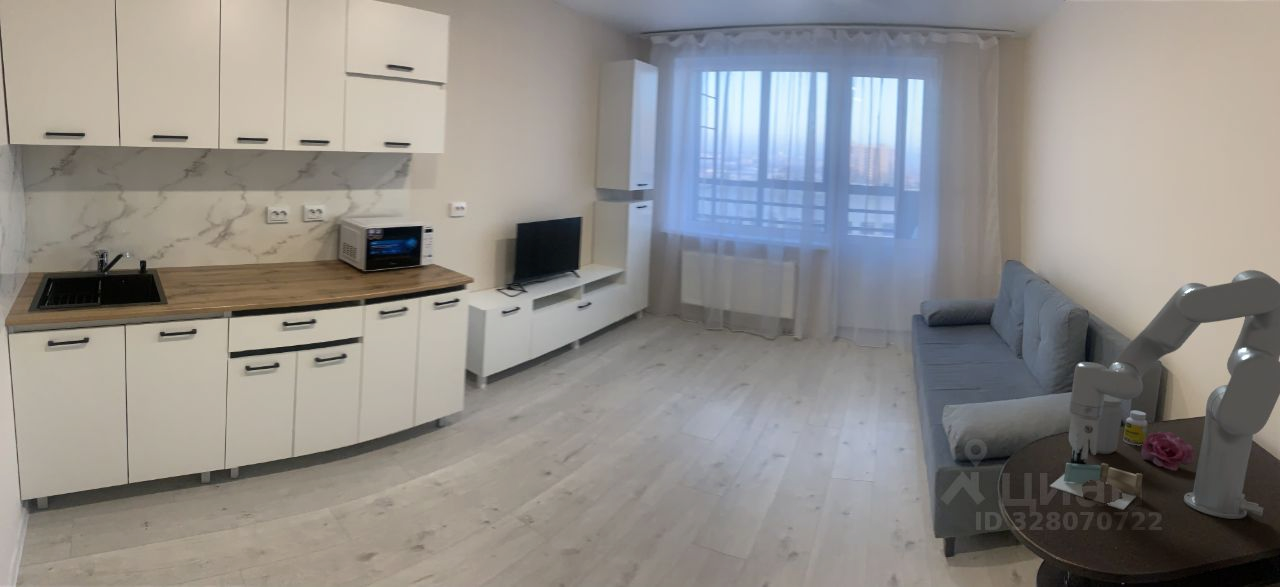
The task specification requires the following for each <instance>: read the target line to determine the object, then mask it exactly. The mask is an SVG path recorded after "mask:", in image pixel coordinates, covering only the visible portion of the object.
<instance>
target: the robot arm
mask: <svg viewBox="0 0 1280 587" xmlns="http://www.w3.org/2000/svg"><path fill="white" fill-rule="evenodd" d="M1239 318H1244V320H1243V323H1242V327H1241V330H1240V333H1239V335H1238V338H1237V339H1236V342H1235V344H1234V347H1233V349H1232V351H1231V353H1230V355H1229V357H1228V358H1227V363H1226V368H1227V371H1228V373H1229V375H1230V379H1229V382H1228V383H1227V384H1224V385H1221V386H1218V387H1216V388H1215V389H1214V390H1213V391H1212V392H1210V394H1209V396H1208V398H1207V402H1206V406H1205V418H1204V419H1205V420H1204V427H1203V435H1202V439H1201V445H1200V449H1199V456H1198V462H1197V466H1196V467H1197V468H1196V473H1195V478H1194V485H1193V490H1192V492H1191V491H1190V492H1187V493H1185V494H1184V497H1183V501H1184V503H1185V504H1186V505H1187V506H1189V507H1191V508H1192V509H1194V510H1196V511H1198V512H1200V513H1203V514H1206V515H1209V516H1213V517H1217V518H1223V519H1231V520H1238V519H1243V518H1245V517H1246V516H1247V514H1248V513H1247V512H1249V513H1252V514H1255V515H1258V516H1263V512H1264V511H1263V510H1264V507H1262V506H1259V503H1257V502H1253V501H1252V502H1251V501H1247V499H1246V498H1245V496H1246V494H1244V493H1243V491H1244V490H1243V489H1244V484H1245V480H1246V474H1247V469H1248V465H1249V464H1248V463H1249V458H1250V455H1251V450H1252V446H1253V438H1254V435H1255V434H1258V433H1260V431H1261V430H1263V429H1264V427H1265V426H1266V424H1267V422H1268V421H1269V419H1270V416H1271V415H1272V413H1273V410H1274V408H1275V406H1276V404H1277V402H1278V399H1279V397H1280V282H1278V281H1277V280H1276V279H1274V278H1273V277H1272V276H1271V275H1268V274H1267V273H1265V272H1263V271H1260V270H1254V269H1250V270H1244V271H1241V272H1239V273H1238V274H1236V275H1235V276H1234V277H1233V278H1232V280H1231V282H1227V283H1222V284H1216V285H1211V286H1209V285H1208V286H1207V285H1206V284H1203V283H1199V282H1190V283H1186V284H1184V285H1182V286H1180V288H1178V290H1176V291H1175V293H1173V295H1172V296H1171V297H1170V298H1169V299H1168V301H1167V302H1166V303H1165V304H1164V305H1163V307H1162V308H1161V309H1160V310H1159V311H1158V313H1157V314H1156V315H1155V316H1154V318H1153V319H1152V320H1151V321H1150V322H1149V323H1148V325H1147V326H1146V327H1145V328H1144V329H1143V330H1142V331H1141V332H1139V334H1138V335H1136V337H1134V339H1132V340H1131V341H1130V342H1129V343H1128V344H1127V346H1126V347H1125V348H1124V349H1123V350H1122V351H1121V352H1120V354H1119V355H1118V356H1117V357H1116V359H1115V360H1114V361H1113V362H1112V363H1111V365H1110V366H1109V368H1107V367H1106V366H1105V365H1103V364H1101V363H1097V362H1091V361H1082V362H1081V361H1080V362H1078V363H1077V364H1076V365H1075V367H1074V374H1073V380H1072V389H1071V395H1070V401H1069V402H1070V403H1069V409H1068V412H1069V414H1071V419H1070V425H1069V430H1068V441H1069V442H1068V443H1069V444H1070V446H1071V447H1072V449H1071V457H1070V458H1071V459H1070V463H1071V464H1087V460H1088V456H1089V453H1091V455H1092V456H1096V455H1097V454H1098V453H1097V443H1098V431H1099V419H1100V418H1101V417H1102V411H1103V404H1104V397H1105V395H1109V396H1112V397H1116V398H1119V399H1122V400H1128V401H1129V400H1134V399H1136V398H1138V397H1139V396H1140V395H1141V394H1142V392H1143V389H1144V384H1143V380H1142V378H1143V376H1144V375H1145V374H1146V373H1147V372H1148V371H1149V370H1150V369H1151V367H1152V366H1153V365H1154V364H1155V363H1156V362H1157V361H1158V360H1159V359H1160V358H1162V357H1164V356H1165V355H1168V354H1171V353H1174V352H1176V351H1177V350H1179V349H1180V348H1181V347H1182V346H1183V344H1184V343H1186V341H1187V340H1188V339H1189V338H1190V337H1191V335H1192V334H1193V333H1194V332H1195V331H1196V329H1197V328H1198V327H1199V326H1200V325H1201V324H1206V323H1207V324H1208V323H1215V322H1216V323H1217V322H1222V321H1229V320H1234V319H1239ZM1088 450H1089V451H1088Z"/></svg>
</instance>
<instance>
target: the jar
mask: <svg viewBox="0 0 1280 587" xmlns="http://www.w3.org/2000/svg"><path fill="white" fill-rule="evenodd" d="M1122 400H1123V399H1119V398H1116V397H1112V396H1109V395H1105V397H1104V404H1103V411H1102V417H1101V418H1100V419H1099V431H1098V443H1097V453H1096V454H1101V455H1110V454H1112V453H1114V452H1116V451H1117V449H1118V445H1119V444H1118V443H1119V438H1120V437H1119V436H1120V430H1121V425H1122V424H1121V423H1122V418H1123V408H1122V407H1121V406H1122V402H1121V401H1122ZM1088 452H1090V451H1089V450H1088Z"/></svg>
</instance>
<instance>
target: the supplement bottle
mask: <svg viewBox="0 0 1280 587" xmlns="http://www.w3.org/2000/svg"><path fill="white" fill-rule="evenodd" d="M1146 417H1147V413H1146V412H1143V411H1140V410H1135V409H1134V410H1130V413H1129V417H1127V418H1126V420H1125V426H1124V433H1123V439H1122V440H1123V442H1125V443H1126V444H1128V445H1130V446H1135V445H1137V446H1136V447H1140V446H1141V445H1143V443H1144V441H1146V434H1147V428H1148V421H1147V420H1146ZM1141 447H1142V446H1141Z"/></svg>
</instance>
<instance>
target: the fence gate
mask: <svg viewBox="0 0 1280 587" xmlns="http://www.w3.org/2000/svg"><path fill="white" fill-rule="evenodd" d="M1100 473H1101V465H1100V464H1087V463H1086V464H1071V462H1066V463H1065V470H1064V474H1065V475H1064V474H1063V475H1064V481H1066V482H1080V483H1085V482H1087V481H1089V480H1093V481H1094V480H1095V481H1099V480H1100Z"/></svg>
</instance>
